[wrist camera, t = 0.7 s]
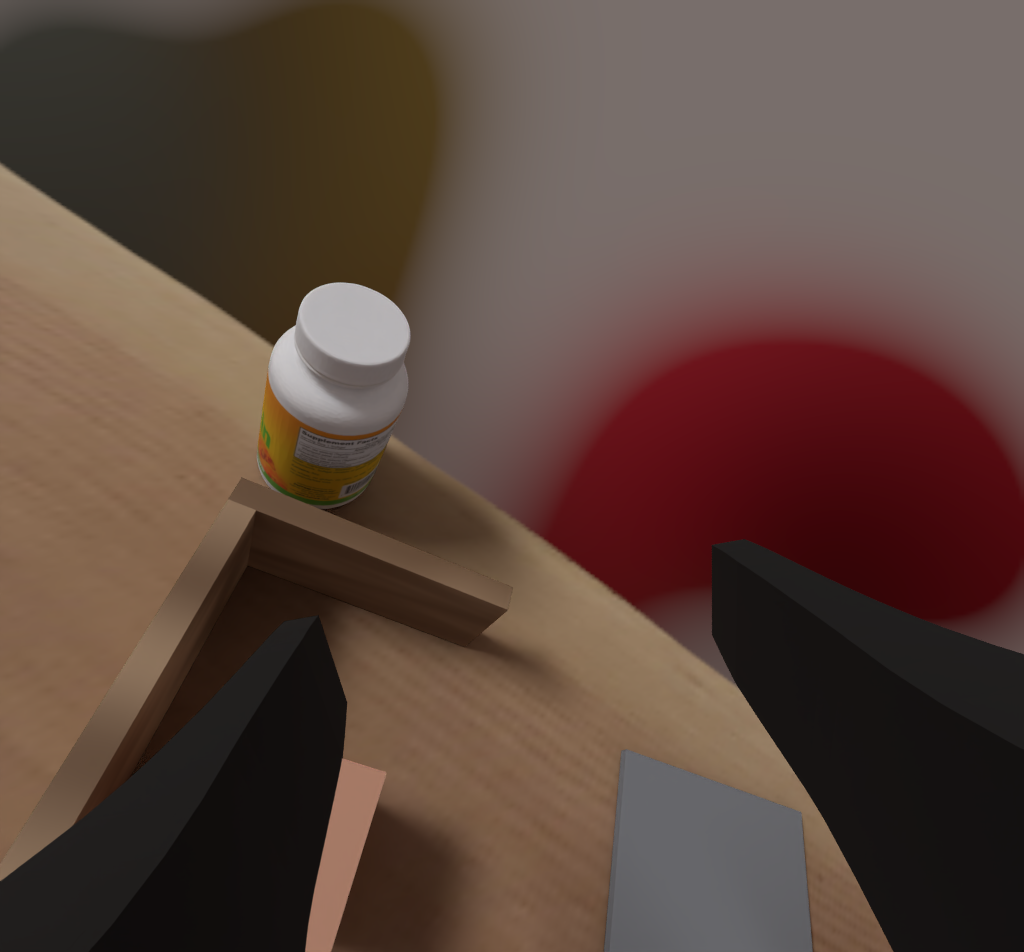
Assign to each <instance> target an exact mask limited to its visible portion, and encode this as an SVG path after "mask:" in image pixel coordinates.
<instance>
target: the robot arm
mask: <svg viewBox="0 0 1024 952" xmlns="http://www.w3.org/2000/svg"><path fill="white" fill-rule="evenodd" d="M712 635H713V638H714V640H715V642H716V644H717V646H718V648H719V650H720V653H721V655H722V656H723V659H724V661H725V663H726V665H727V667H728V669H729V671H730V673H731V675H732V677H733V679H734V681H735V683H736V684H737V686H738V688H739V689H740V691H741V692H742V694H743V695H744V697H745V698H746V700H747V701H748V703H749V705H750V706H751V708H752V709H753V711H754V712H755V714H756V715H757V717H758V718H759V720H760V721H761V723H762V724H763V726H764V727H765V729H766V730H767V732H768V733H769V735H770V736H771V738H772V739H773V741H774V742H775V744H776V745H777V747H778V748H779V750H780V751H781V753H782V754H783V756H784V757H785V759H786V760H787V762H788V763H789V765H790V766H791V768H792V769H793V771H794V772H795V774H796V775H797V777H798V778H799V780H800V781H801V783H802V784H803V786H804V787H805V789H806V790H807V792H808V794H809V795H810V797H811V798H812V800H813V802H814V803H815V805H816V807H817V808H818V810H819V812H820V813H821V815H822V817H823V818H824V820H825V822H826V823H827V825H828V827H829V829H830V831H831V833H832V835H833V837H834V838H835V840H836V842H837V844H838V846H839V848H840V850H841V851H842V853H843V855H844V857H845V859H846V861H847V863H848V864H849V866H850V868H851V870H852V872H853V874H854V876H855V877H856V879H857V881H858V883H859V885H860V887H861V889H862V891H863V893H864V895H865V897H866V899H867V901H868V903H869V905H870V907H871V909H872V911H873V912H874V914H875V916H876V918H877V920H878V922H879V924H880V926H881V928H882V930H883V932H884V934H885V936H886V938H887V940H888V942H889V944H890V946H891V948H892V950H893V952H1024V654H1021V653H1017V652H1015V651H1011V650H1008V649H1005V648H1002V647H998V646H995V645H992V644H989V643H986V642H984V641H981V640H977V639H975V638H972V637H969V636H966V635H963V634H960V633H958V632H955V631H952V630H949V629H946V628H943V627H940V626H938V625H935V624H933V623H930V622H927V621H925V620H922V619H919V618H917V617H914V616H912V615H910V614H907V613H905V612H902V611H900V610H897V609H895V608H893V607H890V606H888V605H885V604H883V603H881V602H878V601H876V600H874V599H871V598H869V597H867V596H865V595H862V594H860V593H858V592H856V591H854V590H851V589H849V588H847V587H845V586H843V585H841V584H838V583H836V582H834V581H832V580H830V579H828V578H826V577H823V576H822V575H820V574H817V573H815V572H813V571H811V570H809V569H807V568H805V567H803V566H801V565H799V564H797V563H795V562H793V561H791V560H788V559H786V558H785V557H782V556H780V555H778V554H776V553H774V552H772V551H770V550H768V549H766V548H764V547H761V546H759V545H757V544H754V543H752V542H750V541H747V540H745V539H743V540H738V541H732V542H727V543H721V544H715V545H712ZM346 712H347V701H346V698H345V694H344V691H343V688H342V685H341V682H340V679H339V676H338V673H337V670H336V667H335V664H334V661H333V658H332V655H331V652H330V649H329V646H328V643H327V640H326V637H325V634H324V631H323V627H322V624H321V621H320V618H319V615H318V616H312V617H306V618H301V619H295V620H290V621H284V622H283V623H282V624H281V625H280V626H279V627H278V628H277V629H276V630H275V631H274V632H273V633H272V634H271V635H270V636H269V637H268V638H267V640H266V641H265V642H264V643H263V644H262V645H261V646H260V647H259V648H258V649H257V650H256V651H255V653H254V654H253V655H252V656H251V657H250V658H249V659H248V660H247V661H246V662H245V664H244V665H243V666H242V667H241V668H240V669H239V670H238V671H237V672H236V673H235V674H234V675H233V676H232V677H231V679H230V680H229V681H228V682H227V683H226V684H225V685H224V686H223V687H222V688H221V689H220V690H219V691H218V692H217V694H216V695H215V696H214V697H213V698H212V699H211V700H210V701H209V702H208V703H207V704H206V705H205V706H204V707H203V708H202V709H201V710H200V711H199V712H198V713H197V714H196V715H195V716H194V717H193V718H192V719H191V720H190V721H189V722H188V723H187V724H186V725H185V726H184V727H183V728H182V729H181V730H180V731H179V732H178V733H177V734H176V735H175V736H174V737H173V738H172V739H171V740H170V741H169V742H168V743H167V744H166V745H165V746H164V747H163V748H162V749H161V750H160V751H159V752H158V753H157V754H155V755H154V756H153V757H152V758H151V759H150V760H149V761H148V762H147V763H146V764H145V765H144V766H143V767H141V768H140V769H139V770H138V771H137V772H136V773H135V774H134V775H132V776H131V777H130V778H129V779H128V780H127V781H126V782H125V783H123V784H122V785H121V786H120V787H119V788H118V789H116V790H115V791H114V792H113V793H112V794H111V795H109V796H108V797H107V798H106V799H105V800H103V801H102V802H101V803H100V804H99V805H98V806H96V807H95V808H94V809H93V810H92V811H91V812H89V813H88V814H87V815H86V816H84V817H83V818H82V819H81V820H79V821H78V822H77V823H76V824H74V825H73V826H72V827H71V828H69V829H68V830H67V831H65V832H64V833H63V834H61V835H60V836H59V837H57V838H56V839H55V840H54V841H52V842H51V843H50V844H48V845H47V846H46V847H44V848H43V849H42V850H41V851H39V852H38V853H37V854H35V855H34V856H33V857H31V858H30V859H29V860H27V861H26V862H25V863H24V864H22V865H21V866H20V867H18V868H17V869H16V870H14V871H13V872H12V873H10V874H9V875H8V876H7V877H5V878H4V879H2V880H1V881H0V952H305V949H306V940H307V932H308V924H309V918H310V912H311V907H312V901H313V895H314V890H315V885H316V881H317V876H318V871H319V867H320V862H321V857H322V853H323V848H324V844H325V839H326V834H327V830H328V825H329V820H330V816H331V811H332V807H333V802H334V797H335V792H336V788H337V783H338V778H339V773H340V768H341V763H342V758H343V749H344V738H345V726H346Z"/></svg>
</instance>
